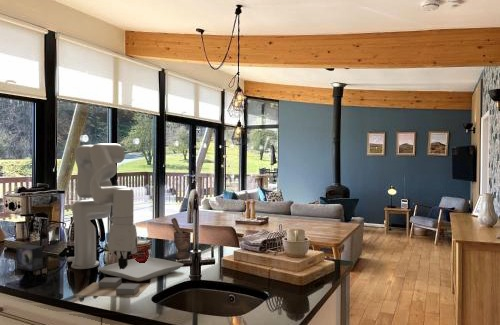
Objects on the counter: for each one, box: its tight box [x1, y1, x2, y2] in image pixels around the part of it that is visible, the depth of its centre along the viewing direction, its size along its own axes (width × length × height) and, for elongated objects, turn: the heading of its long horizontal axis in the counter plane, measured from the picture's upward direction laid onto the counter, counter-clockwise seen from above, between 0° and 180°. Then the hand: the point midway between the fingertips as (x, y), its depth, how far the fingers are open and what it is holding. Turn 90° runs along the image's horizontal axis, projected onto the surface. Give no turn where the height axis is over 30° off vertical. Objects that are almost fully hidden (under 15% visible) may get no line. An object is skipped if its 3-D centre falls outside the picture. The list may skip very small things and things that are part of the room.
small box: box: [15, 244, 44, 272], centre depth 195 cm, size 11×6×10 cm, turn 68°
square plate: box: [97, 256, 185, 282], centre depth 186 cm, size 27×27×4 cm
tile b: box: [116, 284, 140, 295], centre depth 159 cm, size 2×6×7 cm
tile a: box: [98, 277, 123, 288], centre depth 167 cm, size 2×6×7 cm
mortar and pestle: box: [170, 217, 192, 260], centre depth 216 cm, size 12×9×20 cm
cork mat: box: [74, 281, 152, 298], centre depth 163 cm, size 24×16×1 cm, turn 86°
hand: (123, 267), depth 160 cm, fingers closed
